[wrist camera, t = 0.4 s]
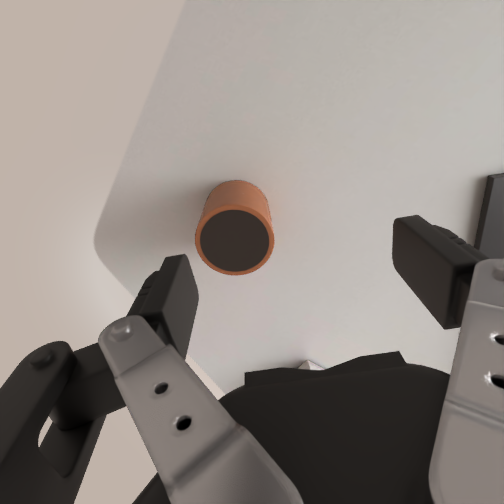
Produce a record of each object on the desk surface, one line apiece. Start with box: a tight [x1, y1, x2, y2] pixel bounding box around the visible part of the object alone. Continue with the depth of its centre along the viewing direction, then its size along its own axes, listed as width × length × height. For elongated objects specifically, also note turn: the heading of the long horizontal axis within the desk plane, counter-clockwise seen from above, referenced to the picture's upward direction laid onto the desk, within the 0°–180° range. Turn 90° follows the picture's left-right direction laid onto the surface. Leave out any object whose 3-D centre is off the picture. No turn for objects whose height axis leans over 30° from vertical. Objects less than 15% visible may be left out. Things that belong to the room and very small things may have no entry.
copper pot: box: [195, 180, 274, 275], centre depth 27 cm, size 6×6×6 cm
